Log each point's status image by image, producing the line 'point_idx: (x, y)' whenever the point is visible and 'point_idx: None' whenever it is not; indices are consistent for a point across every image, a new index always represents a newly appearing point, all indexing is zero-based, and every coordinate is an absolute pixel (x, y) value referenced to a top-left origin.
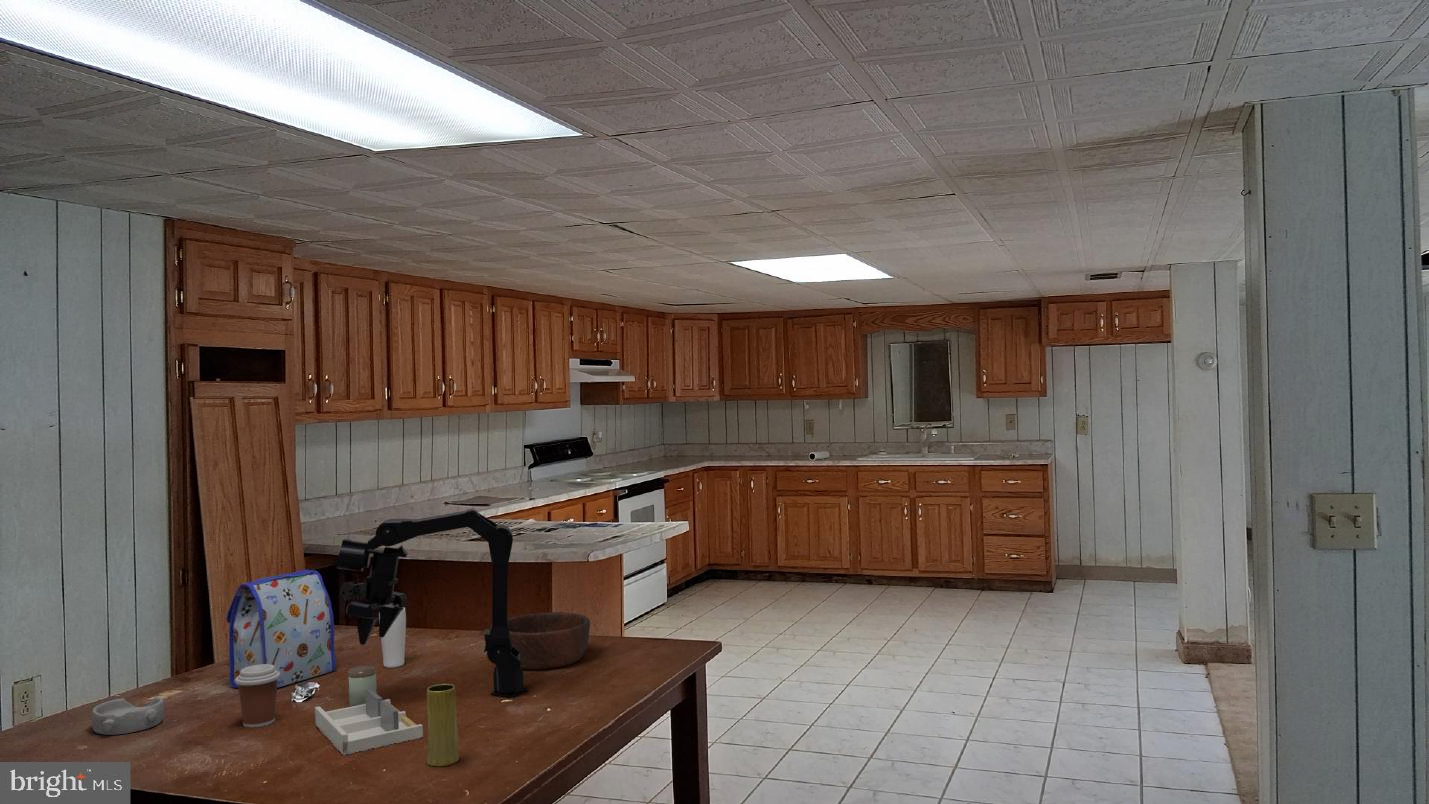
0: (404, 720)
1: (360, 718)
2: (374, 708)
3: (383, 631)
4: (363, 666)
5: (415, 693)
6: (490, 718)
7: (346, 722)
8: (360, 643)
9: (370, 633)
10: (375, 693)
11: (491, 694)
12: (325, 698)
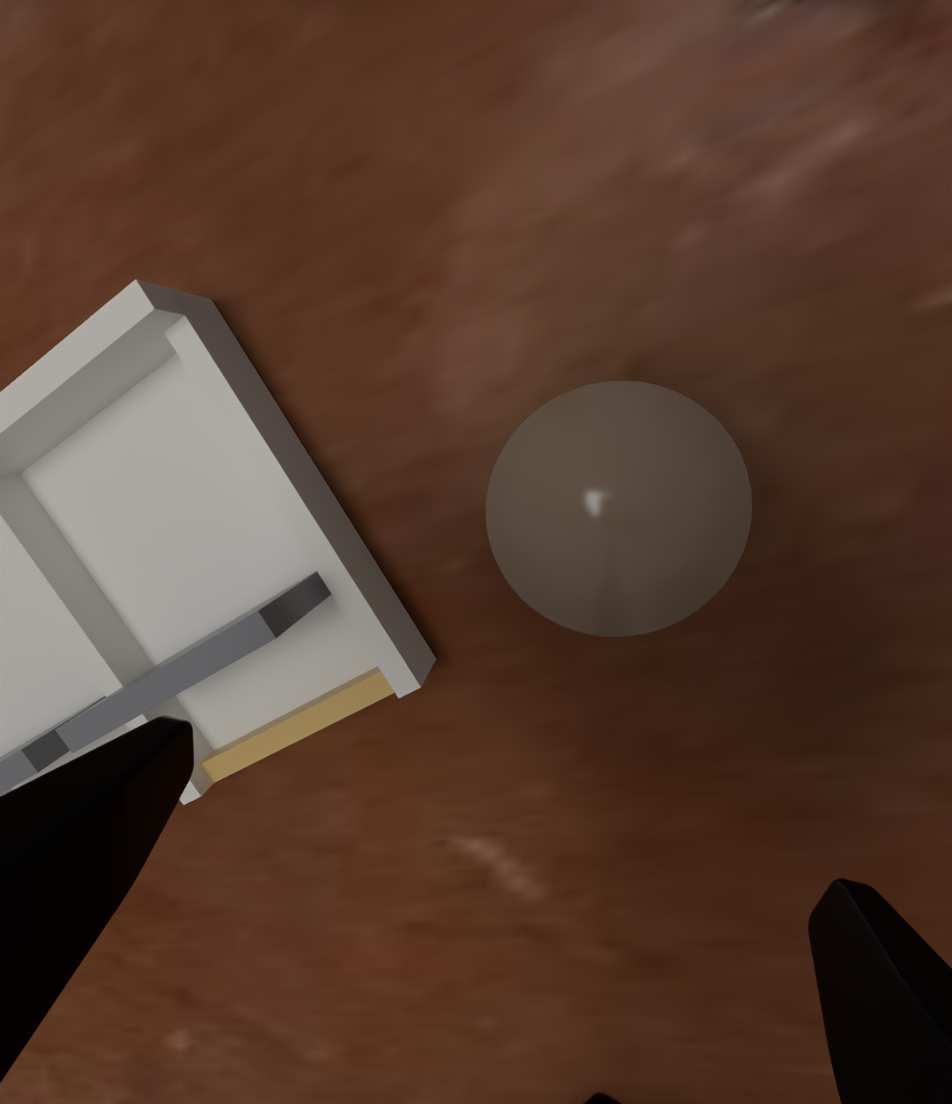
0: None
1: (258, 548)
2: (161, 664)
3: (852, 1028)
4: (726, 502)
5: (745, 752)
6: (265, 1070)
7: (199, 488)
8: (154, 728)
9: (26, 1022)
10: (167, 695)
11: (590, 1101)
12: (810, 130)
